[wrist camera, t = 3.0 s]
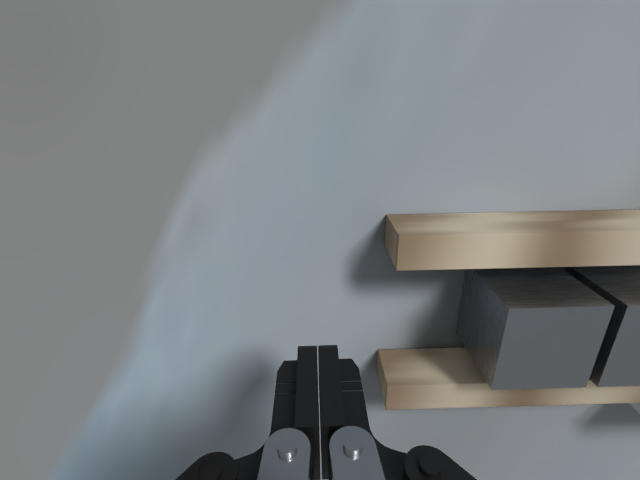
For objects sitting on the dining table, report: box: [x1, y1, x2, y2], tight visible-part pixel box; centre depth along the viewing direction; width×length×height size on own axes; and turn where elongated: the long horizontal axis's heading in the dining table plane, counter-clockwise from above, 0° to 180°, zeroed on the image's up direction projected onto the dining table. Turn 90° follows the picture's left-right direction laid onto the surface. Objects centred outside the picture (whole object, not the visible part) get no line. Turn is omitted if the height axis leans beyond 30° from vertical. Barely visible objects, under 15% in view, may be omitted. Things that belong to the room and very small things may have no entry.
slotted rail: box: [377, 210, 640, 410], centre depth 16 cm, size 14×9×2 cm, turn 91°
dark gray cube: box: [560, 265, 640, 387], centre depth 16 cm, size 4×4×4 cm
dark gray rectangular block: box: [456, 267, 615, 390], centre depth 16 cm, size 4×4×4 cm
